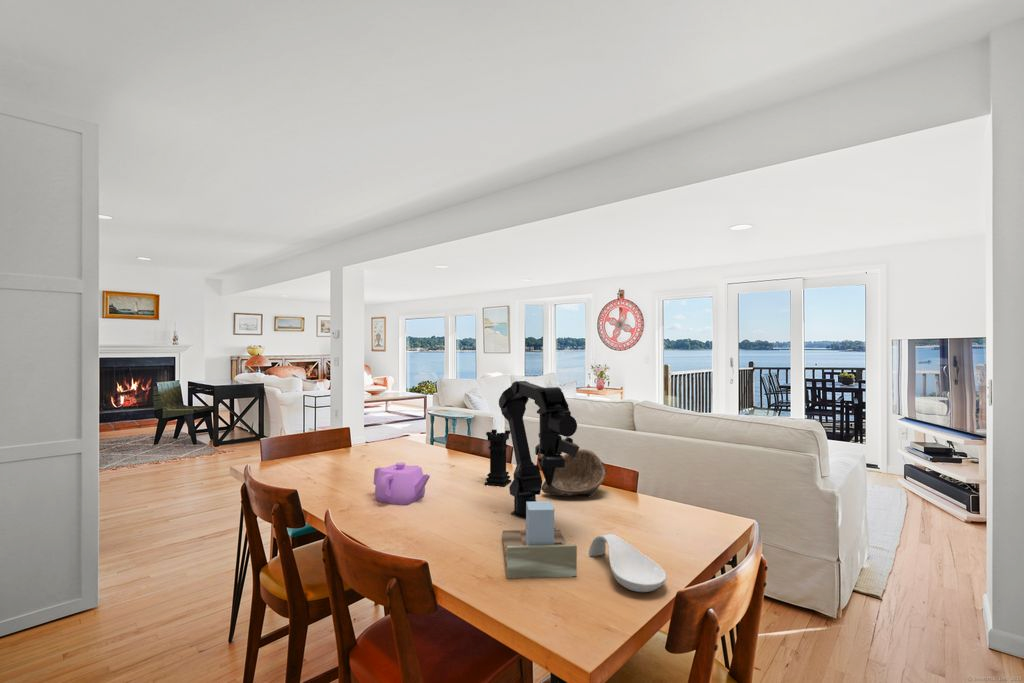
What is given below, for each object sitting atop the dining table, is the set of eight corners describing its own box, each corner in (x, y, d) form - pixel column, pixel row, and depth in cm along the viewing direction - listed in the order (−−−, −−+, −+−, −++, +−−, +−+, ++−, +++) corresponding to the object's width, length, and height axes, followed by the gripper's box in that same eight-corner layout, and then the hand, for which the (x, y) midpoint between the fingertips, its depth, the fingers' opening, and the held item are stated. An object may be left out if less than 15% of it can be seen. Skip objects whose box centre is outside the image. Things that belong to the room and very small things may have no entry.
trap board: (502, 537, 138) (502, 512, 138) (559, 536, 139) (559, 511, 139) (507, 578, 114) (507, 547, 114) (576, 576, 115) (576, 546, 115)
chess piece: (511, 481, 195) (511, 430, 195) (504, 487, 187) (504, 433, 187) (492, 479, 197) (492, 429, 197) (484, 485, 190) (484, 432, 190)
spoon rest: (677, 594, 108) (677, 560, 108) (632, 604, 103) (632, 569, 103) (614, 552, 130) (614, 524, 130) (575, 559, 125) (575, 530, 125)
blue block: (525, 554, 122) (526, 501, 122) (550, 554, 123) (550, 501, 122) (528, 565, 116) (528, 510, 116) (553, 565, 117) (554, 509, 116)
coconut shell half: (552, 505, 167) (617, 479, 173) (533, 465, 176) (596, 441, 182) (548, 520, 179) (610, 495, 185) (531, 482, 188) (590, 459, 194)
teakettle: (371, 494, 177) (371, 460, 177) (418, 489, 184) (419, 456, 184) (379, 509, 161) (379, 471, 161) (430, 503, 168) (431, 466, 168)
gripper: (583, 436, 135) (583, 494, 135) (571, 425, 154) (570, 476, 154) (542, 437, 134) (542, 495, 134) (535, 425, 153) (534, 476, 153)
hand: (549, 485), depth 144 cm, fingers closed
